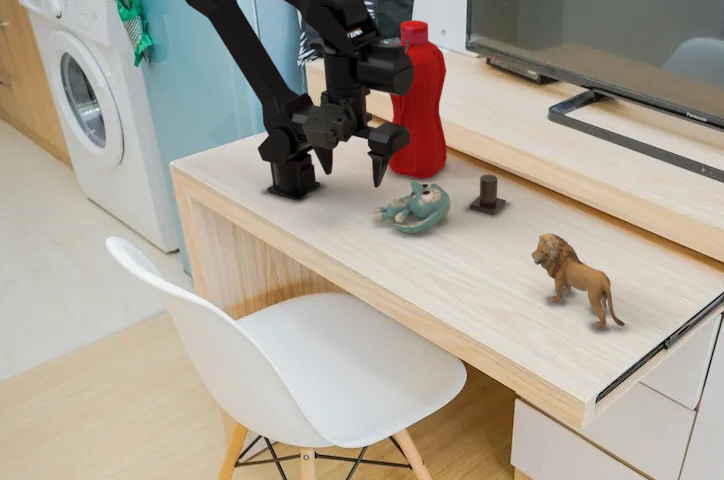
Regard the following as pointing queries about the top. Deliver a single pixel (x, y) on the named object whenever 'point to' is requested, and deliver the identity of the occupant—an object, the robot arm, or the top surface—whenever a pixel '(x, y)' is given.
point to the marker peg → (488, 196)
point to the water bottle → (420, 106)
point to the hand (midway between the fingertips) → (352, 180)
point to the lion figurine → (574, 275)
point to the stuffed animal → (417, 208)
